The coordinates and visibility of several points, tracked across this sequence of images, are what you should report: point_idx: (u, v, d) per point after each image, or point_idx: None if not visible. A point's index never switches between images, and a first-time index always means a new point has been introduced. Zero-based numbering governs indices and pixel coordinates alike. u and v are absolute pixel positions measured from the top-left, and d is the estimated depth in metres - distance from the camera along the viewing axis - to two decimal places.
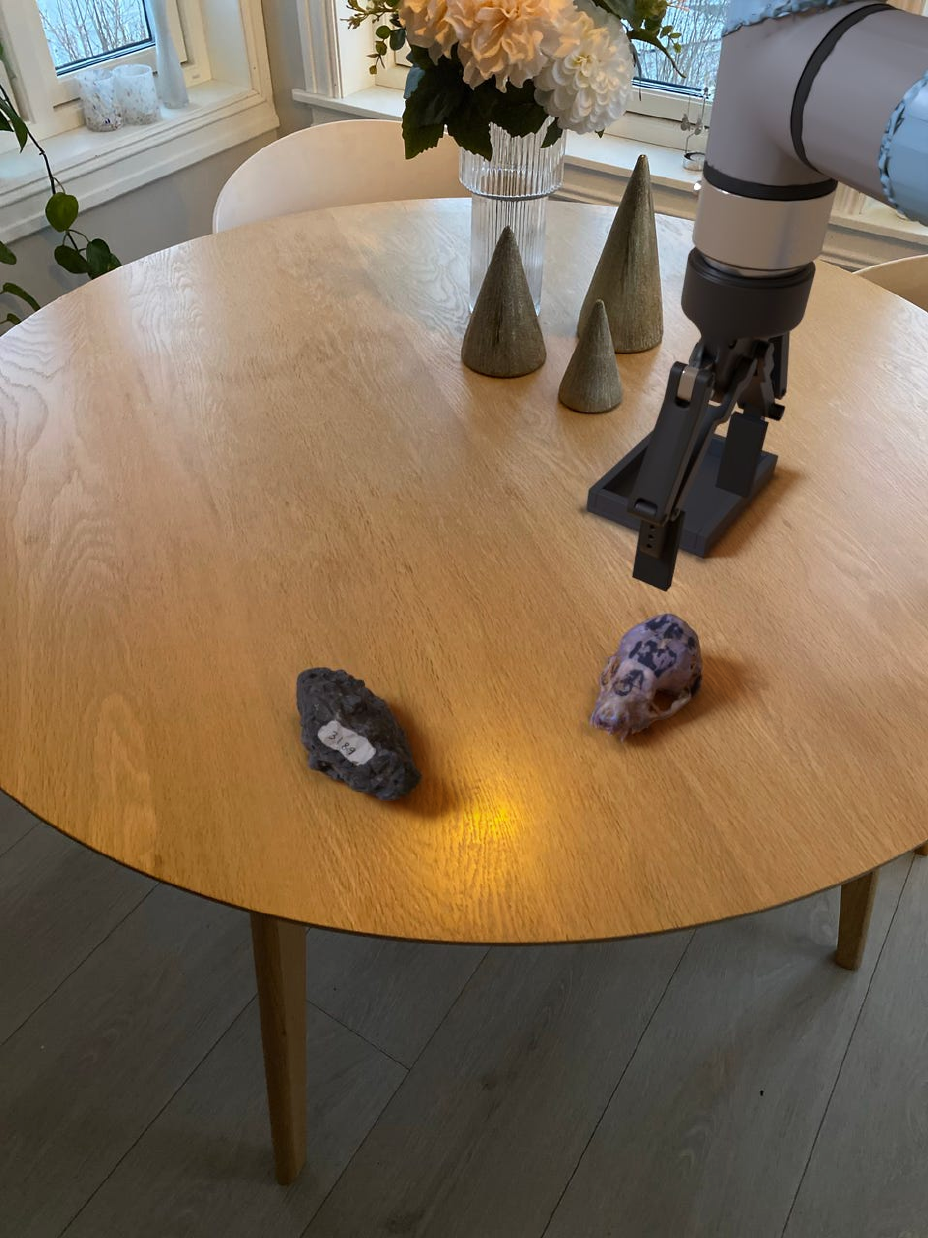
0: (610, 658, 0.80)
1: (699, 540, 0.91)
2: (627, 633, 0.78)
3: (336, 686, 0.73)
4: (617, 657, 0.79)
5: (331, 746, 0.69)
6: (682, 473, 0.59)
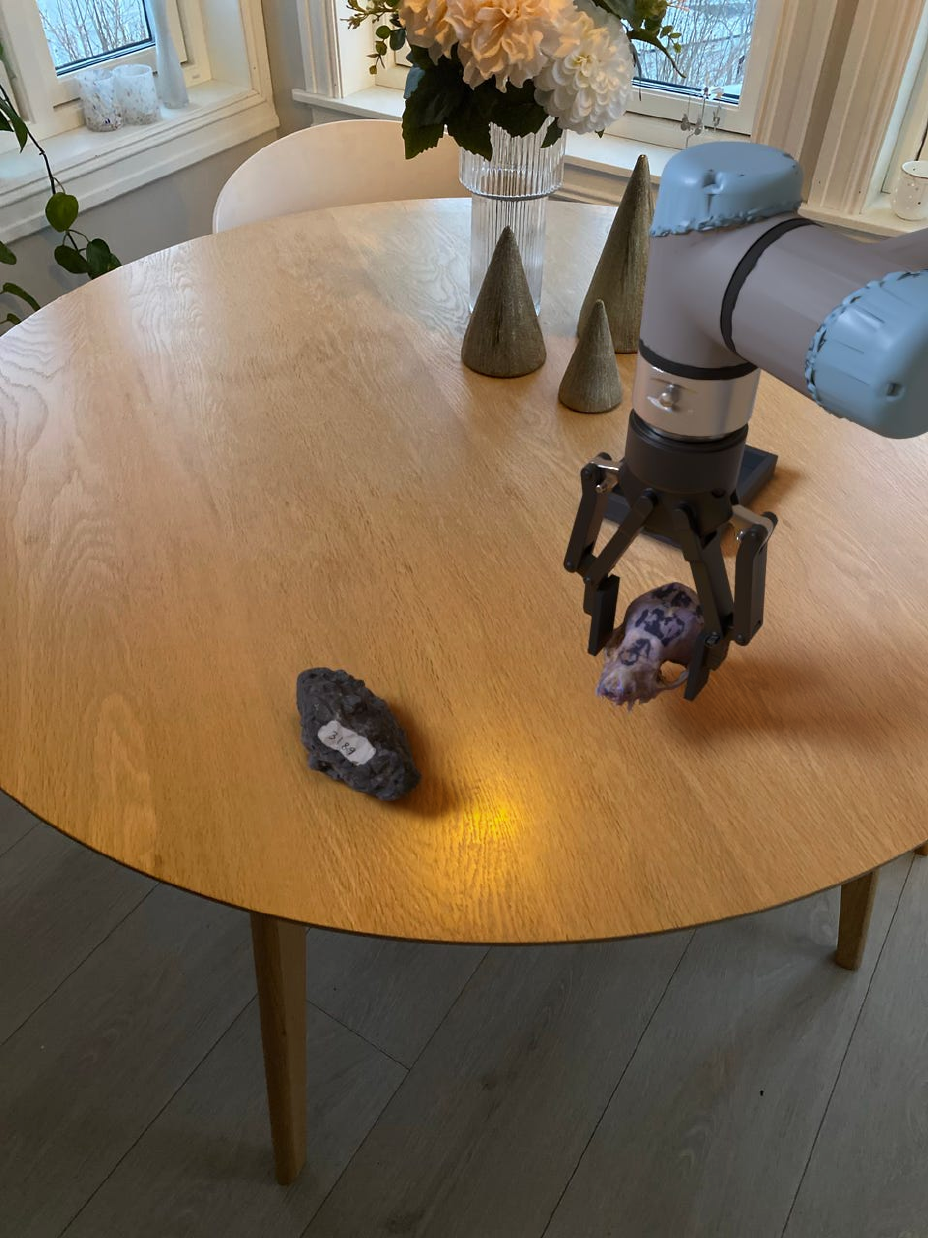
0: (616, 629, 0.78)
1: None
2: (633, 602, 0.75)
3: (336, 686, 0.73)
4: (623, 627, 0.76)
5: (331, 746, 0.69)
6: None
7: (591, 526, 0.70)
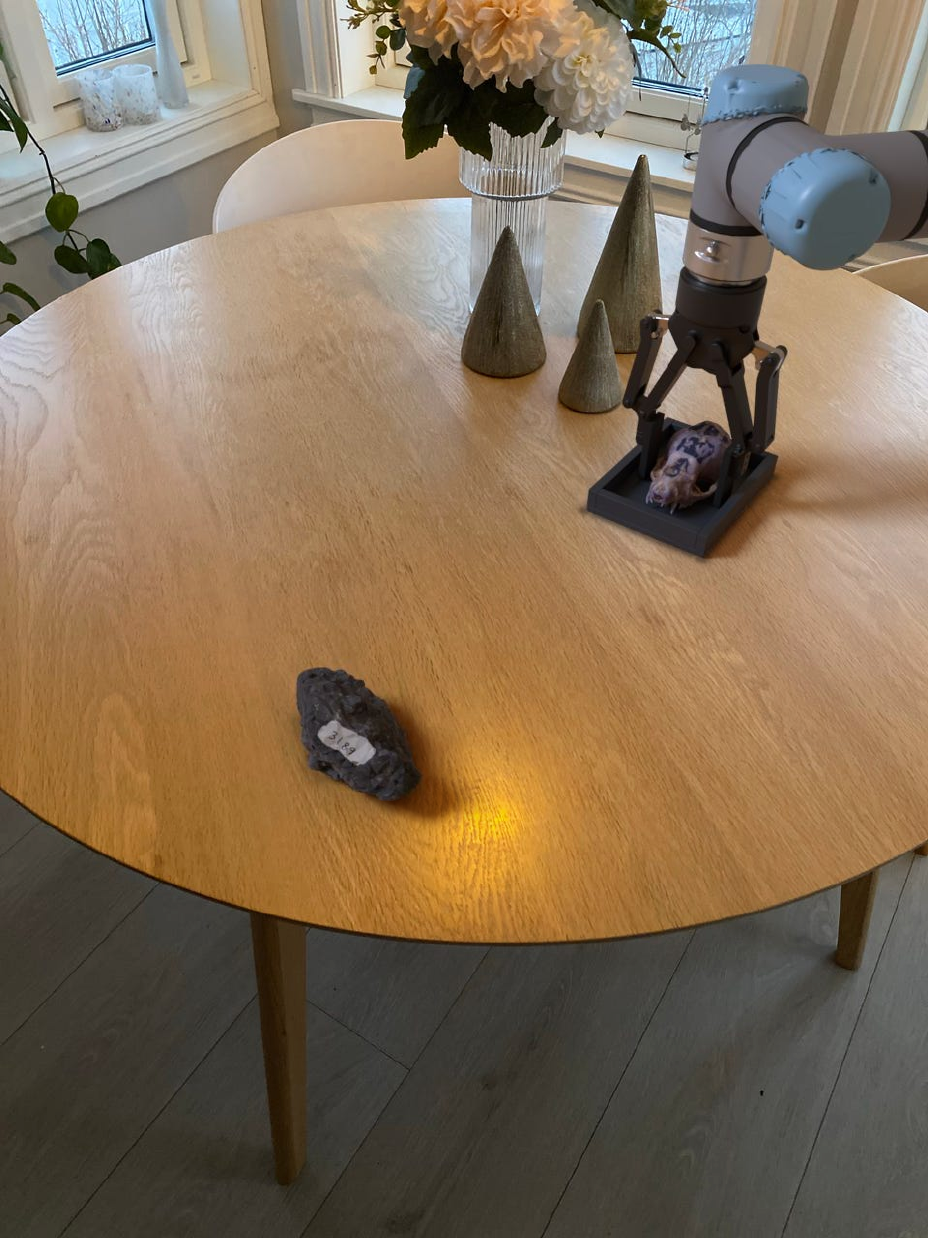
0: (659, 459, 1.00)
1: (699, 540, 0.91)
2: (674, 434, 0.98)
3: (336, 686, 0.73)
4: (665, 455, 0.99)
5: (331, 746, 0.69)
6: None
7: (646, 368, 0.93)
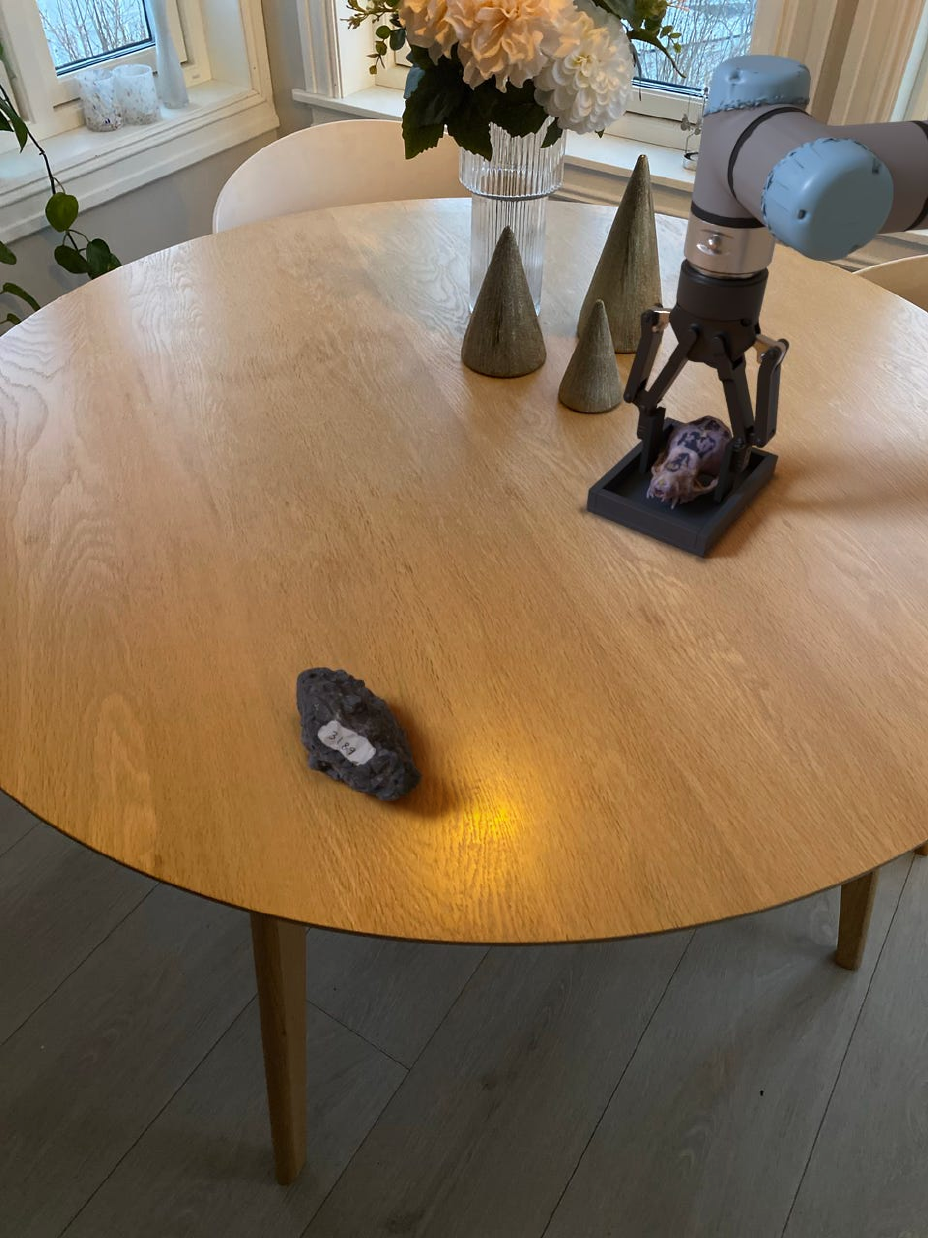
0: (660, 454, 1.00)
1: (699, 540, 0.91)
2: (675, 429, 0.98)
3: (336, 686, 0.73)
4: (666, 450, 0.99)
5: (331, 746, 0.69)
6: None
7: (646, 362, 0.92)
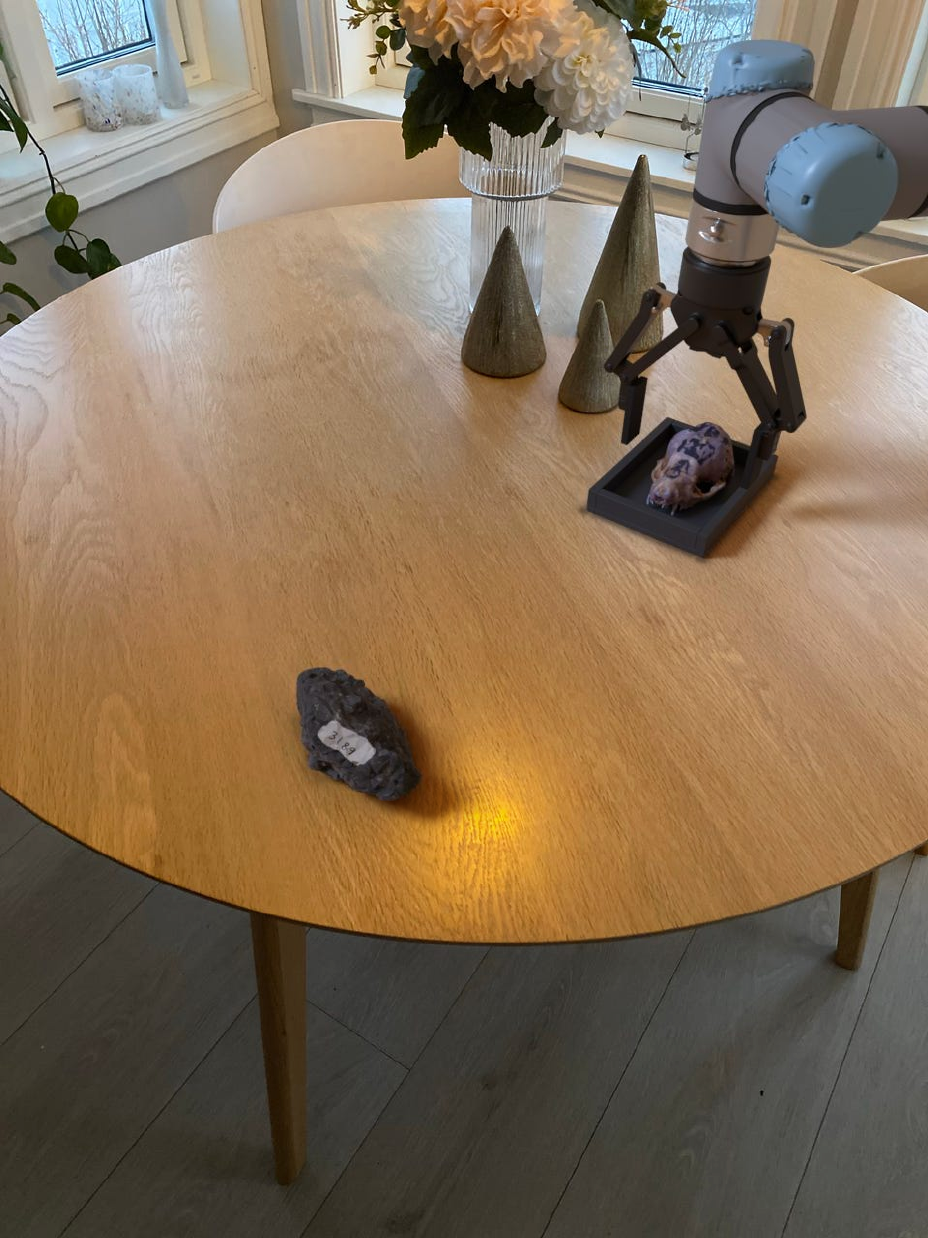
0: (660, 460, 1.01)
1: (699, 540, 0.91)
2: (674, 435, 0.98)
3: (336, 686, 0.73)
4: (666, 456, 0.99)
5: (331, 746, 0.69)
6: None
7: (636, 338, 0.92)
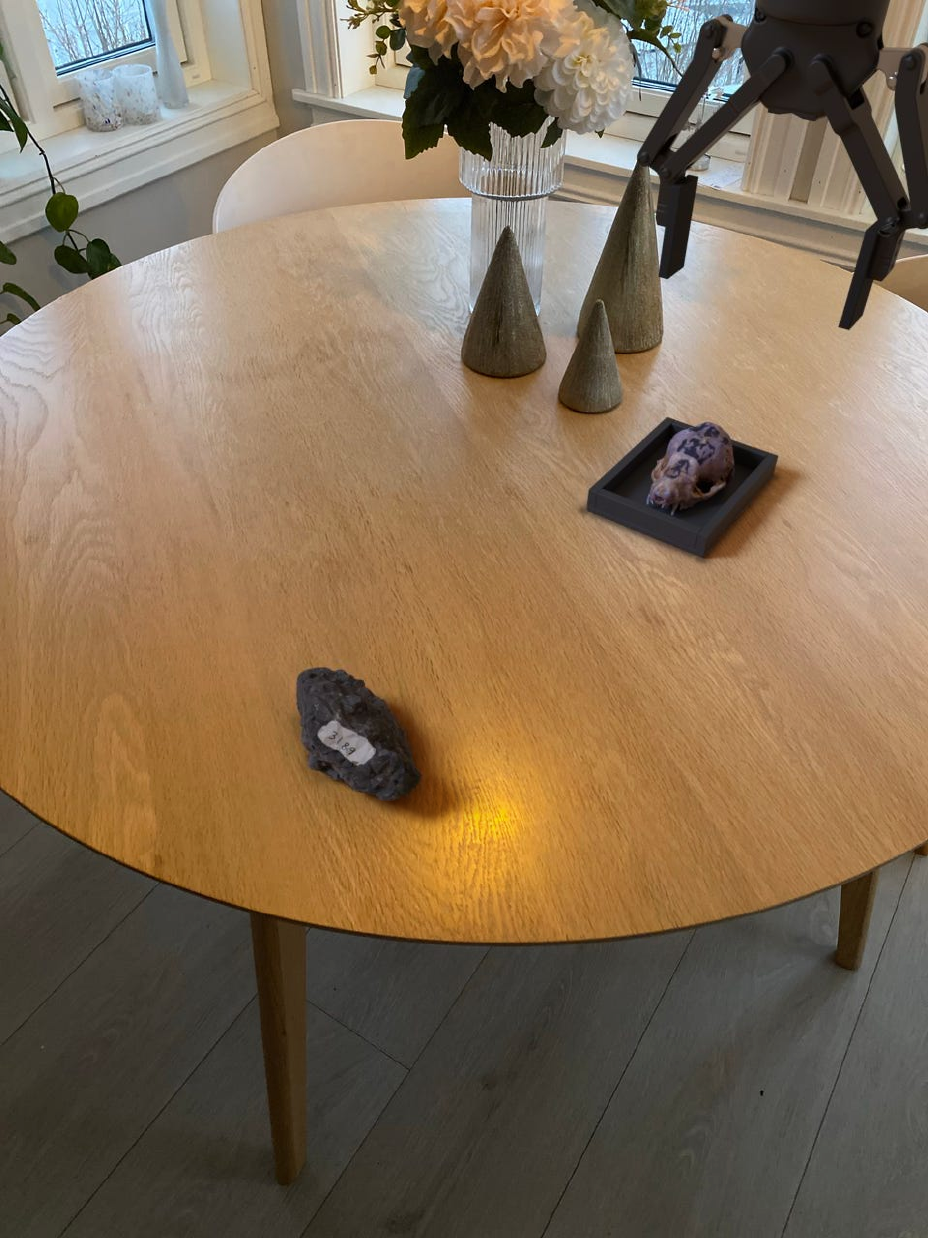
0: (660, 460, 1.01)
1: (699, 540, 0.91)
2: (674, 435, 0.98)
3: (336, 686, 0.73)
4: (666, 456, 0.99)
5: (331, 746, 0.69)
6: None
7: (687, 106, 0.63)
